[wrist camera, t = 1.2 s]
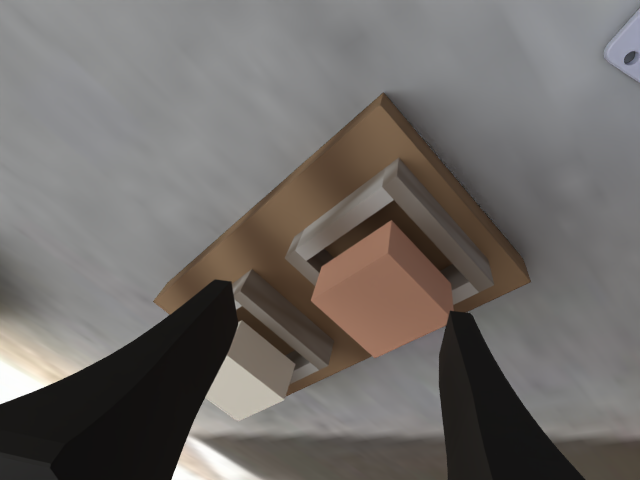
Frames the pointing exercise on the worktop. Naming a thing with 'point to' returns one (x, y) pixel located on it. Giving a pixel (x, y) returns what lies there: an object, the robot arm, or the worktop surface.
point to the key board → (348, 239)
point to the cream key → (250, 375)
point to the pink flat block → (384, 291)
